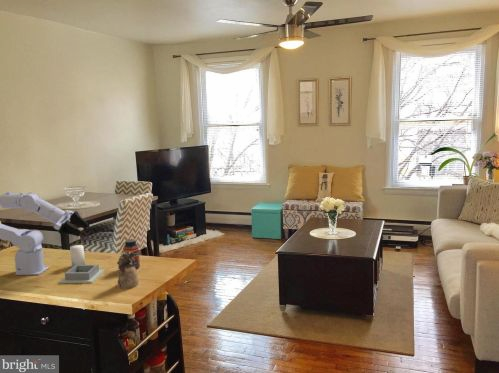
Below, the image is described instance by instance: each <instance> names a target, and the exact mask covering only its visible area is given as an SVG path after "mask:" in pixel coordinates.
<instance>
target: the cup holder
mask: <svg viewBox="0 0 499 373" xmlns="http://www.w3.org/2000/svg"><path fill="white" fill-rule="evenodd" d="M104 272H105V269H100V265H99V264H85V265H75V266H74V267H72V266H71V268H70V269H68V270H67V271H66V272H65V273H64V277H63V278H62V279H61V280H59V281H58V283H59V284H93V282H95V281H96V280H97V279H98V278H99V277H100V276H101V275H102V274H103V273H104Z"/></svg>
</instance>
